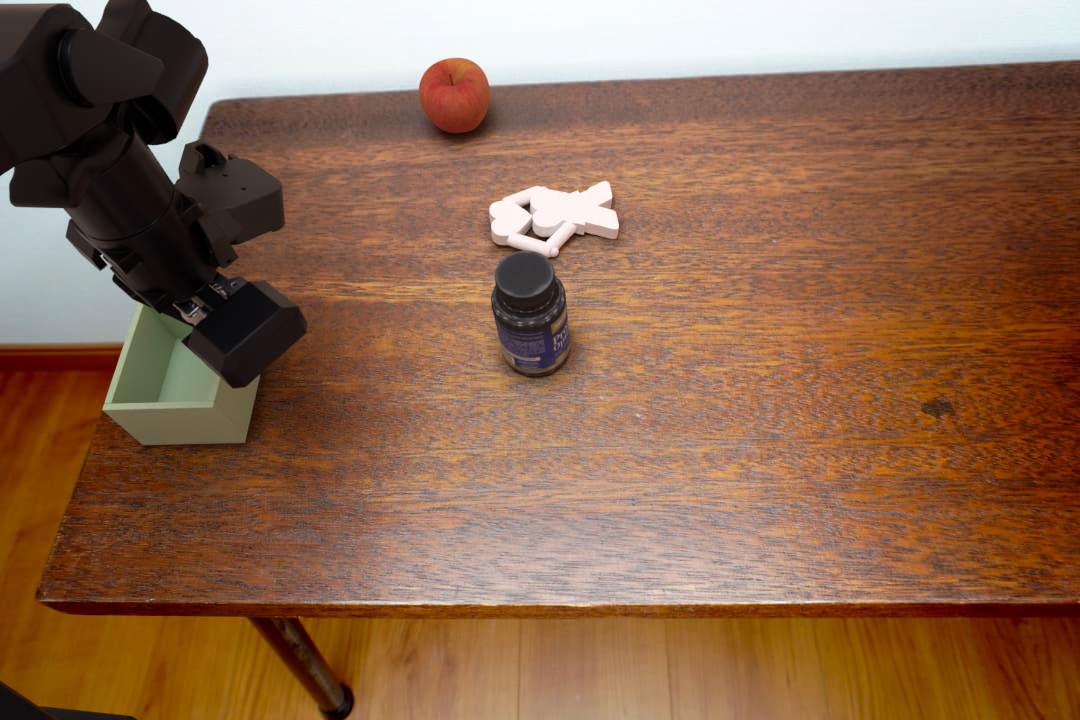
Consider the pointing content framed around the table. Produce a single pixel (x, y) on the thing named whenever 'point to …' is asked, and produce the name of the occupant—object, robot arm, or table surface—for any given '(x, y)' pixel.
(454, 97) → the apple
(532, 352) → the pill bottle
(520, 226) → the white abstract figurine
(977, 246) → the table surface
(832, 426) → the table surface
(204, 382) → the bin
